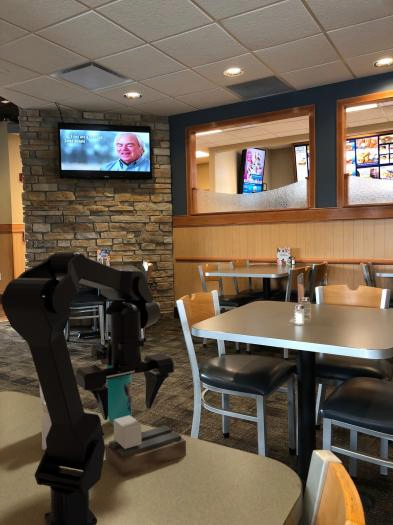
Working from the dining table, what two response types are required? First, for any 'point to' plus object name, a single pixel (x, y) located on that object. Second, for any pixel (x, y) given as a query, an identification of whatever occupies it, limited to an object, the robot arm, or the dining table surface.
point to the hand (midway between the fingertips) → (127, 413)
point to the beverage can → (119, 397)
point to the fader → (127, 431)
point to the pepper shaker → (45, 425)
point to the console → (146, 451)
